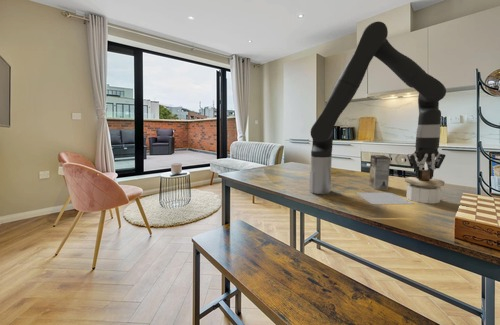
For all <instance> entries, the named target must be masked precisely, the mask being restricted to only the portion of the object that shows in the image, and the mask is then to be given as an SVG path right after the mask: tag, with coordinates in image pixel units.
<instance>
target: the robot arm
mask: <svg viewBox="0 0 500 325" xmlns="http://www.w3.org/2000/svg"><path fill="white" fill-rule="evenodd" d="M388 30H389V29H388V26H387V25H386V24H385V23H384V22H382V21H374V22H371V23H370V24H369V25H367V26H366V27H365V28H364V30H363V31H362V32H361V33H362V34H361V36H360V38H359V41H358V44H357V46H356V48H355V50H354V52H353V55H352V56H351V58H350V59H349V61H348V62H347V63H346V66H345V67H344V68H343V70H342V72H341V74H340V75H339V77H338V78H337V81H336V83H335V84H334V87H333V88H332V91H330V92H331V93H330V95H329V97H328V98H327V101H326V103H325V106H324V107H323V109H322V111H321V113H320V114H319V116H318V117H317V119H316V121H315V122H314V123H313V125H312V127H311V128H310V136H311V139H312V145H311V151H310V157H311V158H310V171H309V191H310V192H311V194H316V195H327V194H330V193H331V191H332V190H331V189H332V160H333V159H332V158H333V157H332V156H333V154H332V152H333V142H334V140H333V139H334V131H333V130H334V127H335V126H336V123H337V122H338V119H339V118H340V115H341V114H342V113H343V112H344V111H345V109H346V108H347V107H348V105H349V104H350V102H351V101H352V100H353V98H354V97H355V95H356V94H357V91H358V90H359V88H360V86H361V83H362V81H363V79H364V77H365V74H366V72H367V69H368V68H369V65H370V63H371V62H372V60H373V59H374V57H375V58H376V59H377V60H379V61H380V62H382V63H383V64H384V65H386V67H388V68H389V69H390V70H391V71H392V72H393V74H395V75H396V76H397V77H398V79H400V80H401V81H402V83H404V84H405V85H406V86H408V87H409V88H411V89H414V90H415V91H417V92H418V96H417V104H418V105H417V107H418V121H417V128H416V133H415V134H416V137H415V150H414V153H411V154H410V153H408V154H407V156H406V157H407V160H408V162H409V165H410V168H412V169H414V170H415V175H414V177H416V178H417V179H422V170H423V168H424V165H425V163H426V166H427V169H426V170H429V171H430V179H432V178H433V179H434V171H435V170H436V169H440V168H441V166H442V164H443V162H444V160H445V158H446V154H443V153H440V152H439V150H438V149H439V148H440V141H441V131H442V130H441V129H442V128H441V121H442V111H441V110H440V109H439V105H440V103H439V102H440V101H441V100H442V99H444V97H445V96H446V95H447V89H446V86H445V85H444V84H443V83H442V82H441V81H440V80H439V79H437V78H435V77H434V76H432V75H431V74H429V73H427V72H426V71H425V70H424V69H423V68H422V67H421V66H420V65H419V64H417V62H415V61H414V60H413V59H412V58H411V57H409V56H407V55H404V54H403V53H402V52H400V51H399V50H397V49H396V48H395V47H394V46H393V45H392V44H391V43H390V42H389V40H388V39H387V38H388V34H389V32H388Z"/></svg>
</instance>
